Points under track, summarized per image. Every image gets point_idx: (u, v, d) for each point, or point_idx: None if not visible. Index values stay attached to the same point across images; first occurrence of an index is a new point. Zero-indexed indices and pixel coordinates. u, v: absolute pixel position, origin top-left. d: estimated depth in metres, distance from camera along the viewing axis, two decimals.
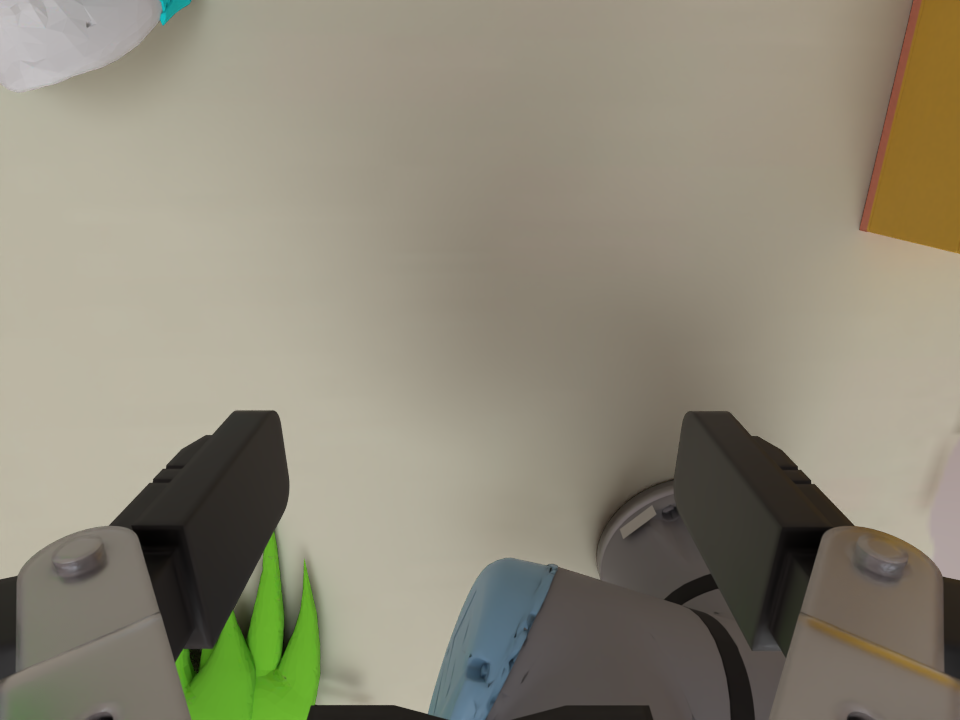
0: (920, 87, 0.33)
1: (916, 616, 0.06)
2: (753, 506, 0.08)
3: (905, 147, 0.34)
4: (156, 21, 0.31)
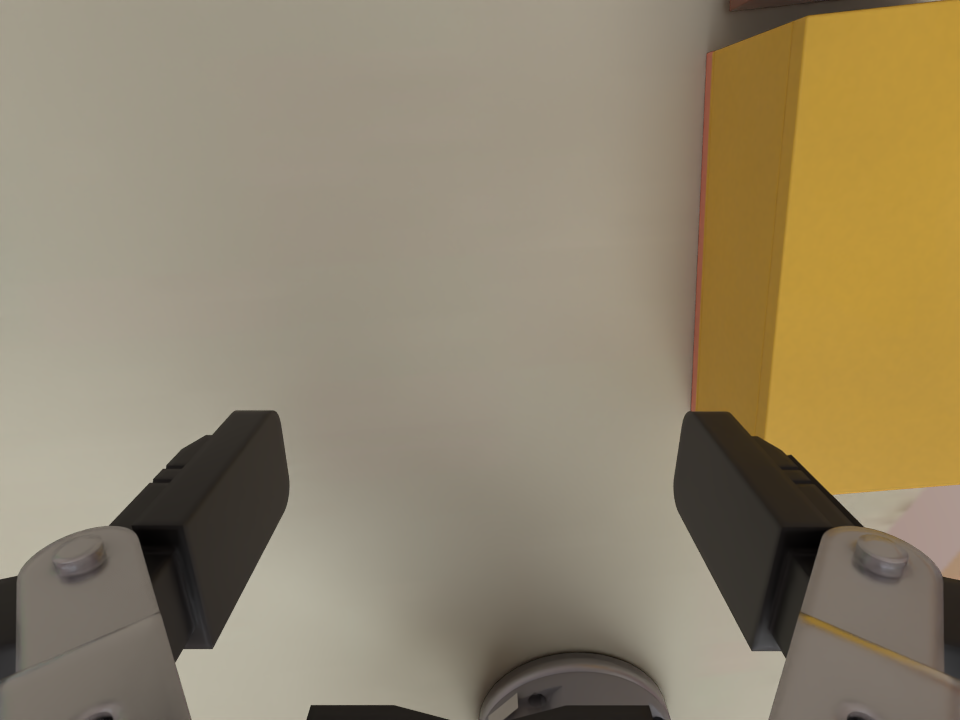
0: (712, 292, 0.30)
1: (916, 616, 0.06)
2: (753, 506, 0.08)
3: (709, 349, 0.31)
4: None
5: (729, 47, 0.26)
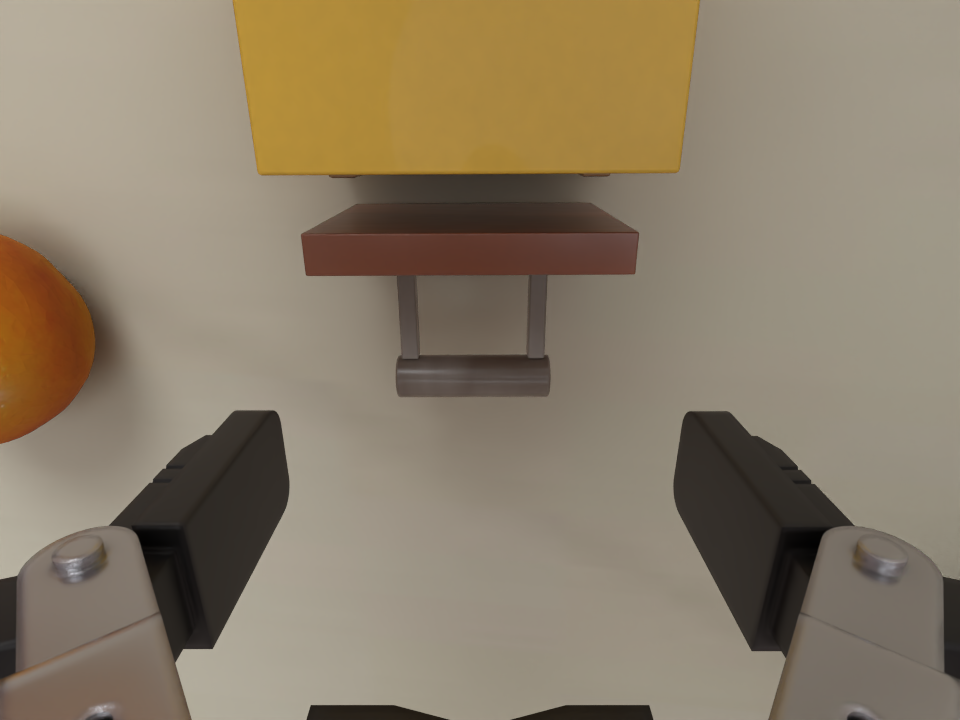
0: None
1: (916, 616, 0.06)
2: (753, 506, 0.08)
3: None
4: None
5: None
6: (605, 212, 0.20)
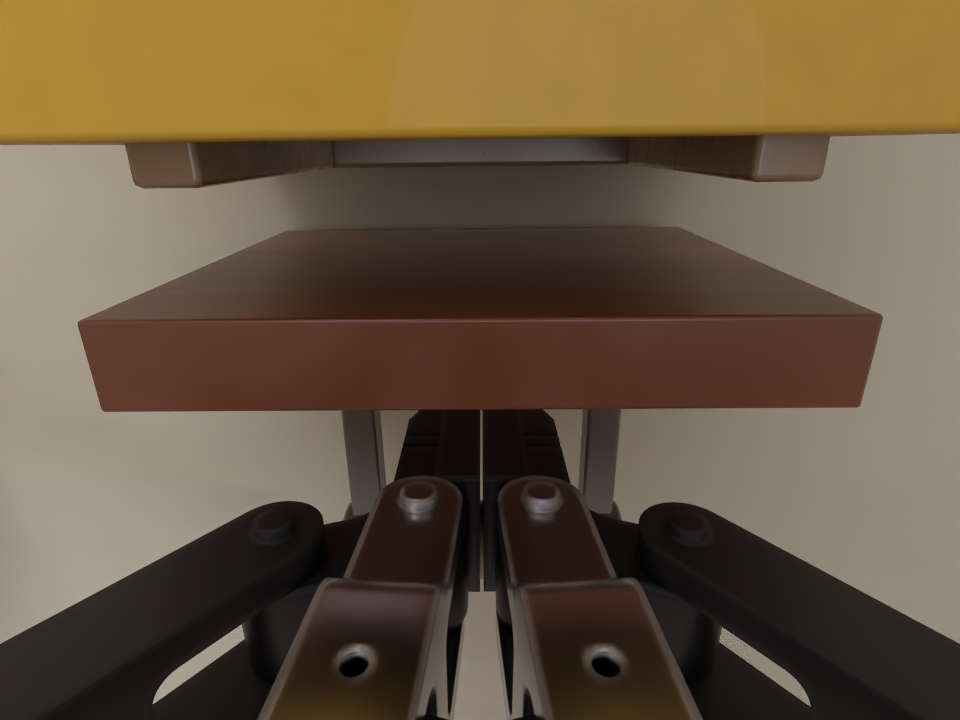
0: None
1: (582, 537, 0.07)
2: None
3: None
4: None
5: None
6: (728, 249, 0.10)
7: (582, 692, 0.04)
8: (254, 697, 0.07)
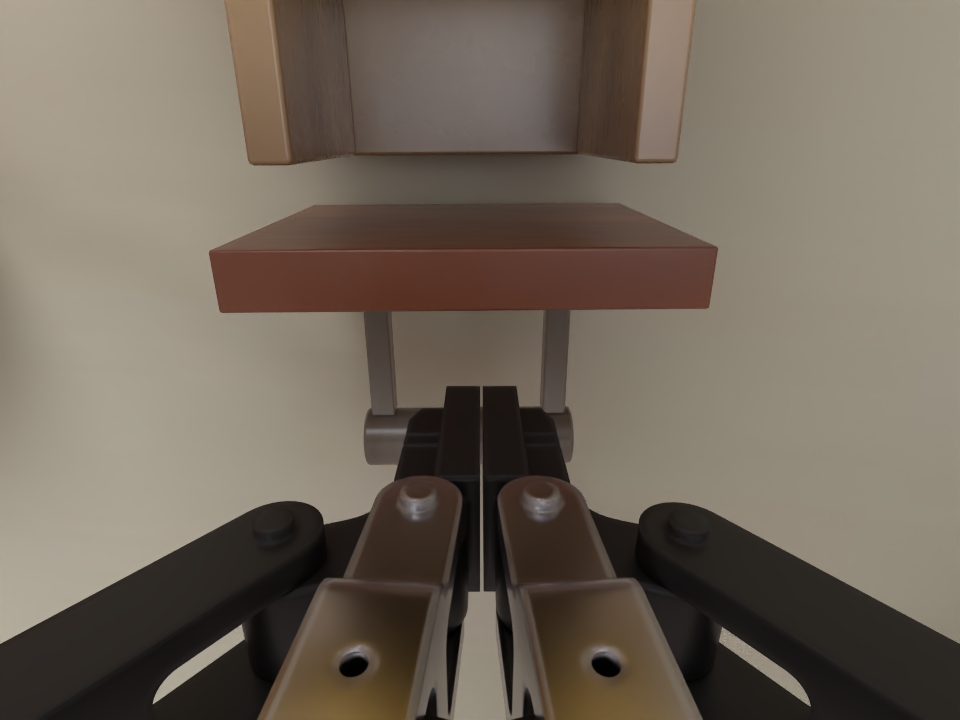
0: None
1: (582, 537, 0.07)
2: None
3: None
4: None
5: None
6: (647, 216, 0.14)
7: (582, 692, 0.04)
8: (254, 697, 0.07)
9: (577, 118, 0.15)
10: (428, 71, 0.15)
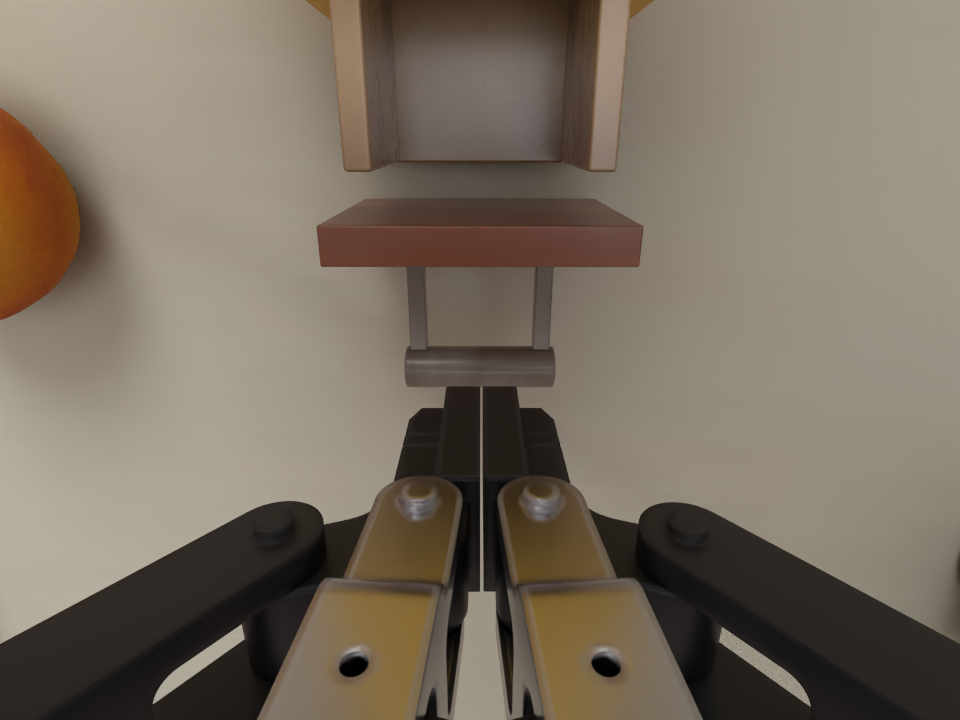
0: None
1: (582, 537, 0.07)
2: None
3: None
4: None
5: None
6: None
7: (582, 692, 0.04)
8: (254, 697, 0.07)
9: (561, 136, 0.21)
10: (453, 102, 0.20)
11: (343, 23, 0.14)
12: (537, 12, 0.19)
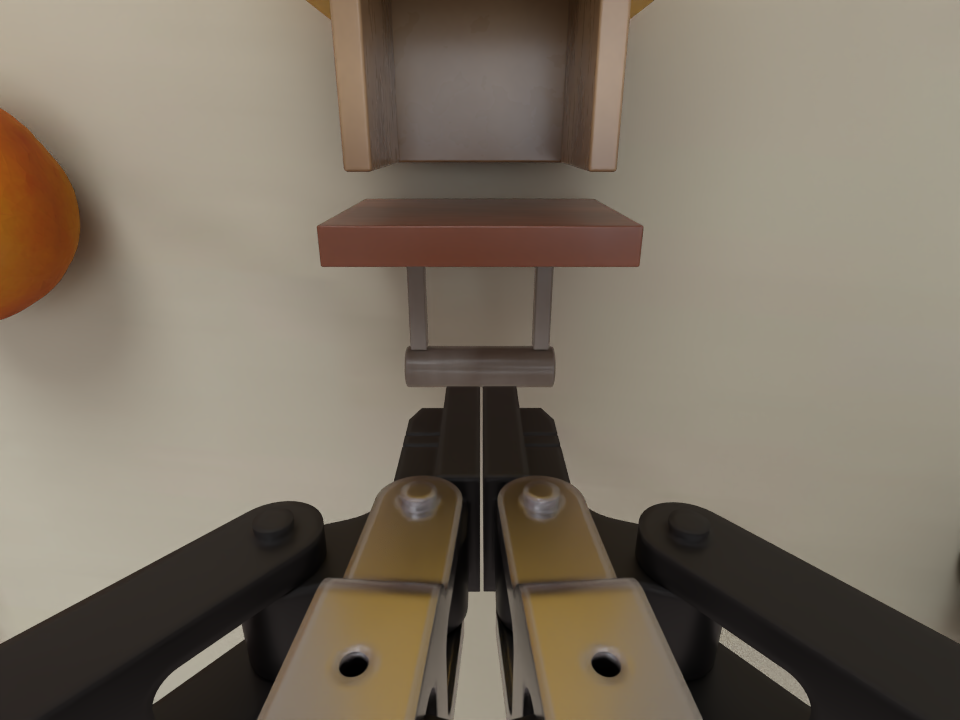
0: None
1: (582, 537, 0.07)
2: None
3: None
4: None
5: None
6: None
7: (582, 692, 0.04)
8: (254, 697, 0.07)
9: (561, 136, 0.21)
10: (453, 102, 0.20)
11: (343, 23, 0.14)
12: (537, 12, 0.19)
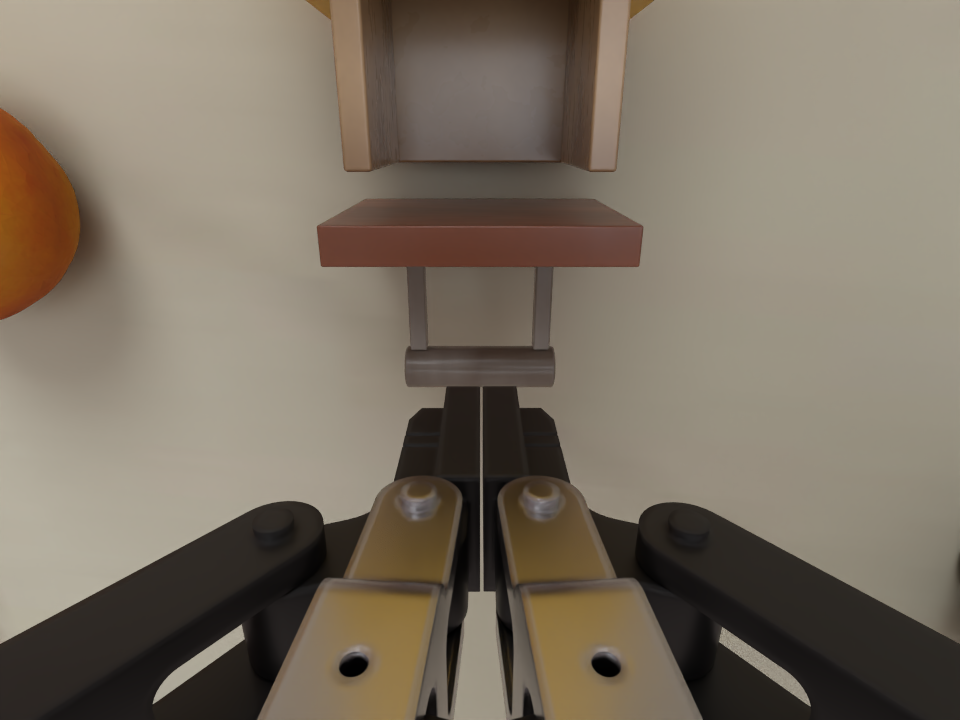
0: None
1: (582, 537, 0.07)
2: None
3: None
4: None
5: None
6: None
7: (582, 692, 0.04)
8: (254, 697, 0.07)
9: (561, 136, 0.21)
10: (453, 102, 0.20)
11: (343, 23, 0.14)
12: (537, 12, 0.19)
